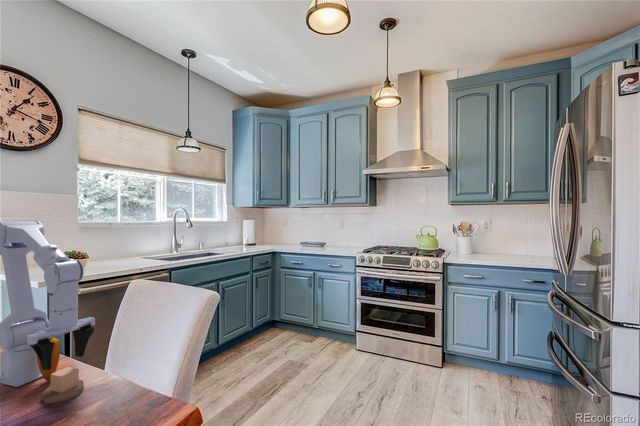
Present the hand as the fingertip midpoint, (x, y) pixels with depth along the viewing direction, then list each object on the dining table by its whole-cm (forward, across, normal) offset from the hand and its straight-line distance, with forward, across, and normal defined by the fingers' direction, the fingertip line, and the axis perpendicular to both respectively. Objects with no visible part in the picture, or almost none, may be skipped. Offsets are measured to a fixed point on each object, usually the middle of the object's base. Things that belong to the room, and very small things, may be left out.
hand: (63, 362), depth 80 cm
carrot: (+8, +3, +11) cm, 14 cm away
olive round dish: (+8, 0, 0) cm, 8 cm away
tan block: (+6, 0, 0) cm, 6 cm away
